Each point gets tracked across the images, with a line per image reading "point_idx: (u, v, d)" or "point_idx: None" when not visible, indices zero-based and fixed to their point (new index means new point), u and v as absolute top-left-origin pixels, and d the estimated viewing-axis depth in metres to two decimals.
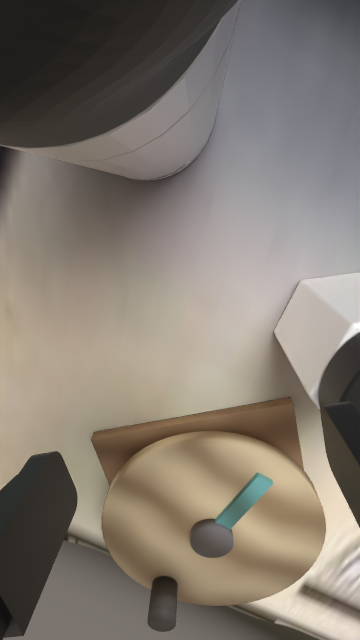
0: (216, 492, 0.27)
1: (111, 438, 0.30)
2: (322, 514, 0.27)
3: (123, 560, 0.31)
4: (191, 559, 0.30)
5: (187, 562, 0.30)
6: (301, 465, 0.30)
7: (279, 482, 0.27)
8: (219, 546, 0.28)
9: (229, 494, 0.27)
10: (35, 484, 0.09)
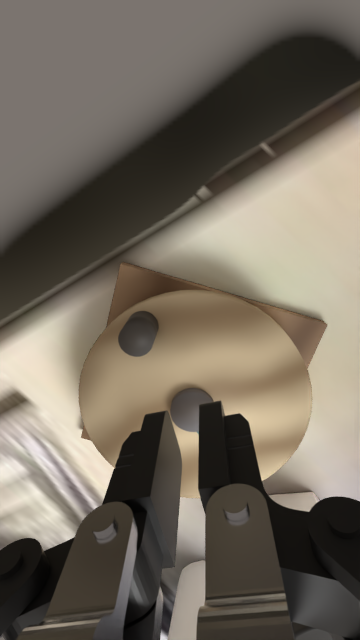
0: None
1: (315, 343, 0.29)
2: None
3: (201, 304, 0.25)
4: (168, 373, 0.27)
5: (165, 366, 0.27)
6: None
7: None
8: (184, 416, 0.27)
9: None
10: (162, 436, 0.10)
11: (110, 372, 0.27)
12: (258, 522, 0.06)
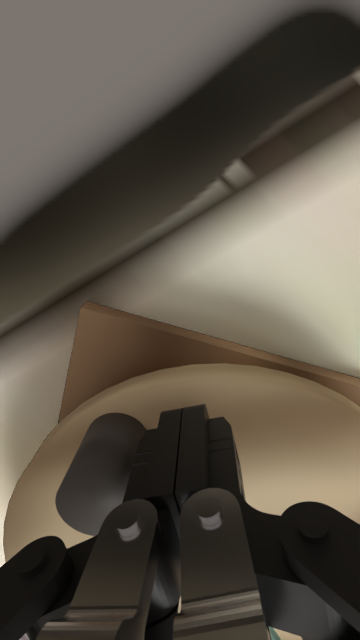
0: None
1: None
2: None
3: (237, 401, 0.12)
4: None
5: None
6: None
7: None
8: None
9: None
10: (180, 433, 0.10)
11: (59, 518, 0.14)
12: (230, 527, 0.06)
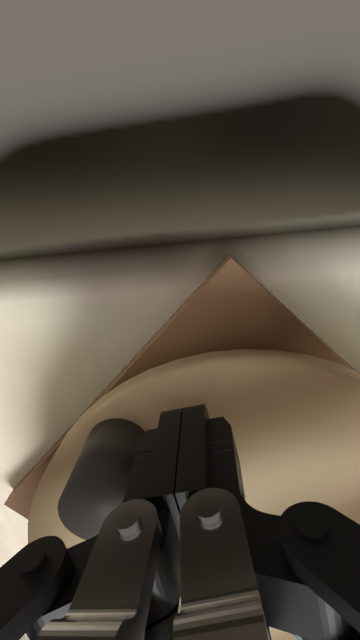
0: None
1: None
2: None
3: (227, 386, 0.12)
4: None
5: None
6: None
7: None
8: None
9: None
10: (180, 433, 0.10)
11: None
12: (230, 527, 0.06)
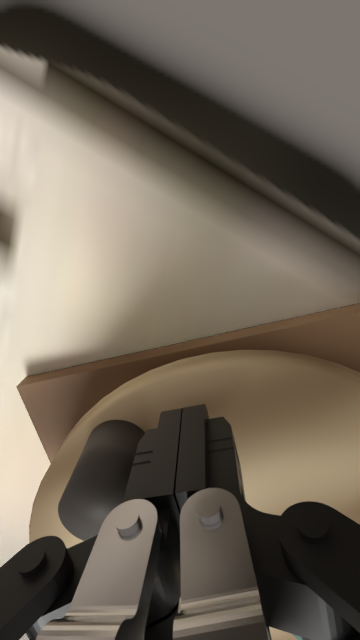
0: None
1: None
2: None
3: (227, 387, 0.12)
4: None
5: None
6: None
7: None
8: None
9: None
10: (180, 433, 0.10)
11: None
12: (230, 527, 0.06)
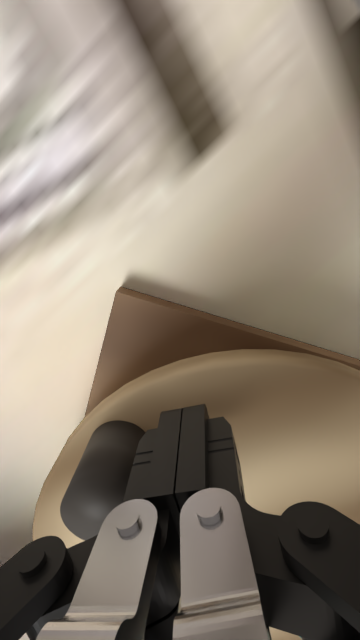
0: None
1: None
2: None
3: (227, 387, 0.12)
4: None
5: None
6: None
7: None
8: None
9: None
10: (180, 433, 0.10)
11: None
12: (230, 527, 0.06)
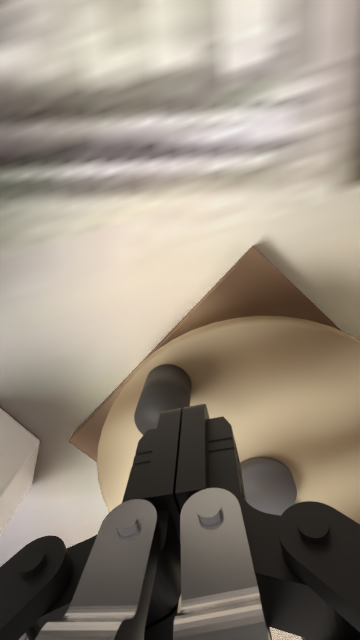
0: None
1: None
2: None
3: (249, 340, 0.16)
4: None
5: None
6: None
7: None
8: (252, 500, 0.19)
9: None
10: (179, 433, 0.10)
11: None
12: (230, 526, 0.06)
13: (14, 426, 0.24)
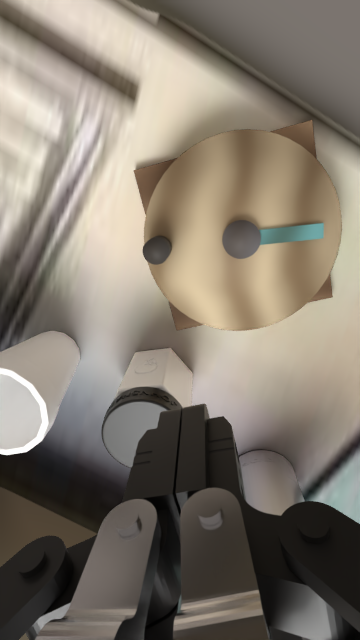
0: (283, 210, 0.32)
1: (315, 298, 0.38)
2: (313, 294, 0.34)
3: (159, 196, 0.32)
4: (203, 245, 0.33)
5: (197, 245, 0.33)
6: None
7: (322, 244, 0.33)
8: (242, 247, 0.32)
9: (288, 220, 0.32)
10: (179, 433, 0.10)
11: (186, 288, 0.35)
12: (230, 526, 0.06)
13: (153, 351, 0.41)
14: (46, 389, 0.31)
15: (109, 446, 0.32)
